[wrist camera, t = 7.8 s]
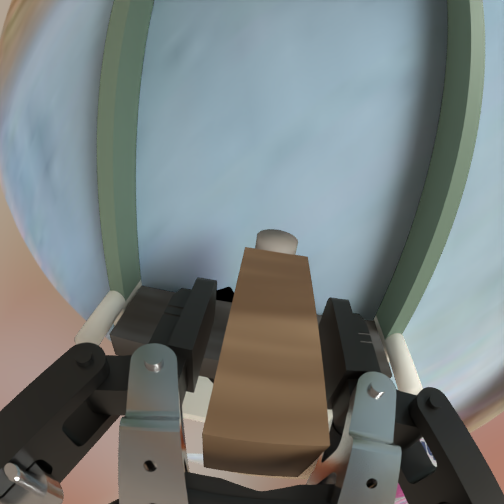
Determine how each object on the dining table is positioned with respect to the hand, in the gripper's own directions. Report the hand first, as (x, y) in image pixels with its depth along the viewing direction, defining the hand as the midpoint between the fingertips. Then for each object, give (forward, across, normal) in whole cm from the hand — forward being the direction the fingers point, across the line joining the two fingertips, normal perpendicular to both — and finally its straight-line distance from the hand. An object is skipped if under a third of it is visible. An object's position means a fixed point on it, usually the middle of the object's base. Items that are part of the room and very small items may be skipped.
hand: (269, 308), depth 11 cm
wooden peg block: (+8, 0, +3) cm, 8 cm away
